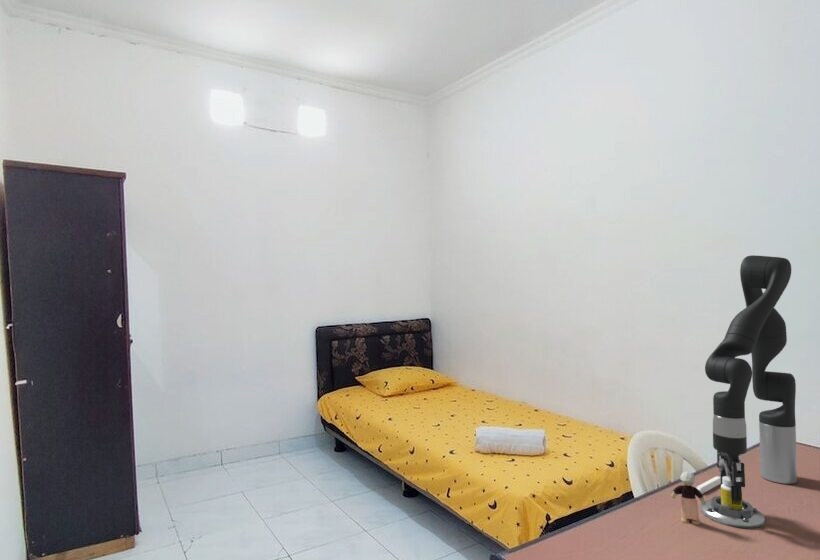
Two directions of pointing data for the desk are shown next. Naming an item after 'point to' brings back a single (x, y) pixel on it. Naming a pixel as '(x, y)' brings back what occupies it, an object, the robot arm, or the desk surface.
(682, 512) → the grandmother figurine
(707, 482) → the white pencil
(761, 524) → the hub plate
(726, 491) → the supplement bottle
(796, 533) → the desk surface
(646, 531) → the desk surface
